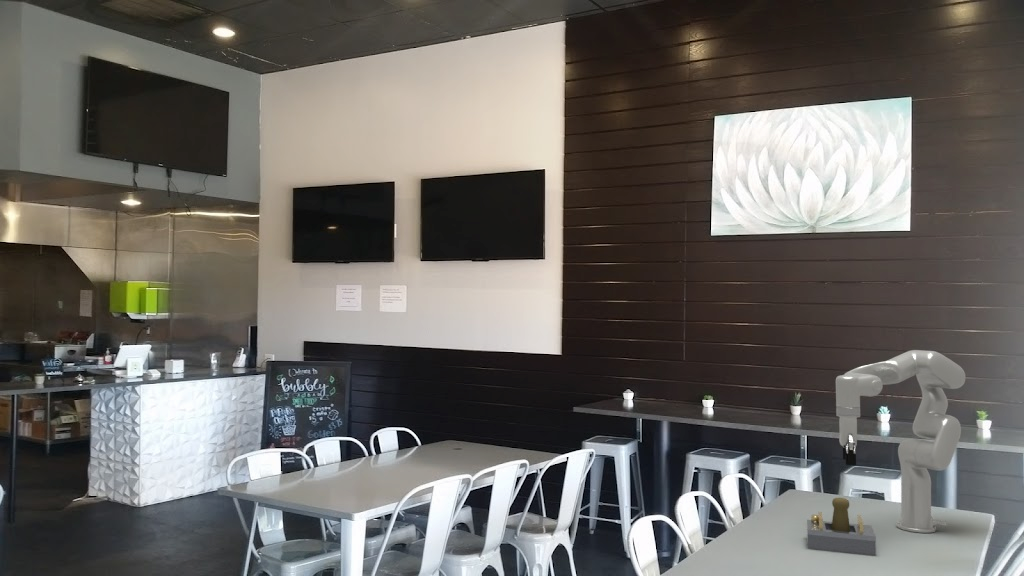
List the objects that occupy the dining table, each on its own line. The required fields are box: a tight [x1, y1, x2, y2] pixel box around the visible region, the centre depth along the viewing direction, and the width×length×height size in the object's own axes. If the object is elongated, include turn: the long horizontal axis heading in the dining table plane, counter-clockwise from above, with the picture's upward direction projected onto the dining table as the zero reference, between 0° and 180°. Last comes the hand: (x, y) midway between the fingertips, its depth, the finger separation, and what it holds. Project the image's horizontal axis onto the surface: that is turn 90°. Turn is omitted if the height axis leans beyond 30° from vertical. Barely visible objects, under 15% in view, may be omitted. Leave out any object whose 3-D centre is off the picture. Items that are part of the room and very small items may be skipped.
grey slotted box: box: [806, 511, 877, 557], centre depth 262 cm, size 20×14×10 cm
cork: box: [831, 497, 850, 532], centre depth 262 cm, size 6×6×11 cm
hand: (849, 462), depth 273 cm, fingers open, 9 cm apart
